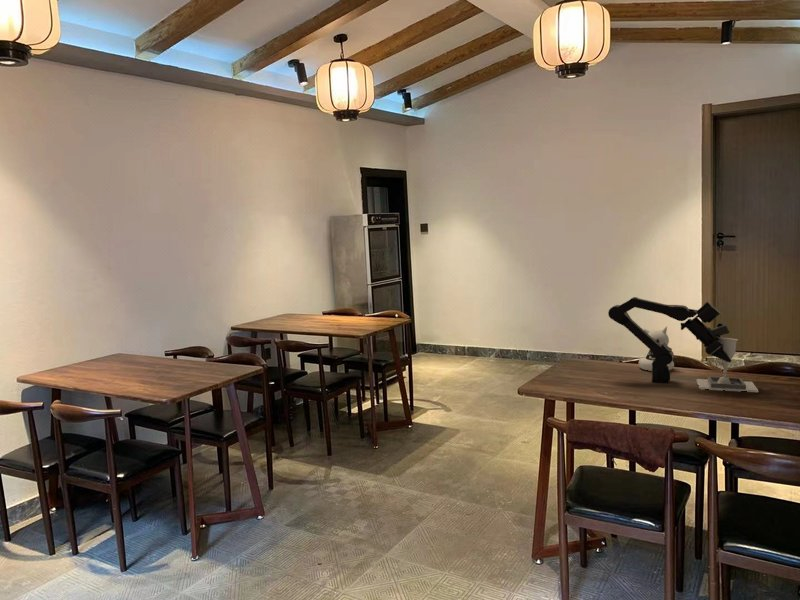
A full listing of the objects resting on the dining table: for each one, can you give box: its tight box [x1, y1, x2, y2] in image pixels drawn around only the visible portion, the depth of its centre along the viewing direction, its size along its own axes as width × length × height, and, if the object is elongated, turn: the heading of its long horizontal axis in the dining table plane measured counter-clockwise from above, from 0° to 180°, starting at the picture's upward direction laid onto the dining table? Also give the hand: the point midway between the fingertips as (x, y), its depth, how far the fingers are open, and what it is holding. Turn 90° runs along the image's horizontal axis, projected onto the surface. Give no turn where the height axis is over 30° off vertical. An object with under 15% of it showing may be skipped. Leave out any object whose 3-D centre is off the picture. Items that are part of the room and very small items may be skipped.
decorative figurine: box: [638, 326, 675, 372], centre depth 269 cm, size 15×15×20 cm
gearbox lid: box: [696, 375, 759, 393], centre depth 237 cm, size 20×14×2 cm
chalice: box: [717, 337, 739, 384], centre depth 237 cm, size 7×7×18 cm
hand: (730, 359), depth 235 cm, fingers open, 7 cm apart
